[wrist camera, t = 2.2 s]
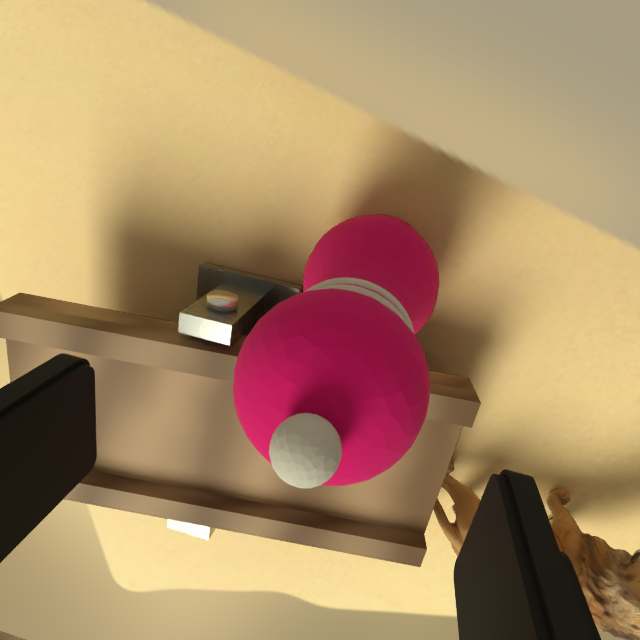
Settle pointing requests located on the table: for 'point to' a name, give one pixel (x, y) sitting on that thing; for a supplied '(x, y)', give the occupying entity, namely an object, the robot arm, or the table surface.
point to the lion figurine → (584, 552)
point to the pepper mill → (342, 358)
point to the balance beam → (222, 437)
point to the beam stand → (228, 321)
